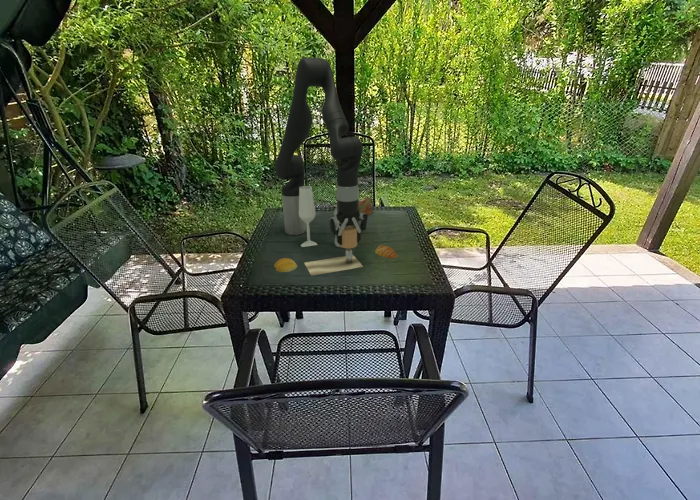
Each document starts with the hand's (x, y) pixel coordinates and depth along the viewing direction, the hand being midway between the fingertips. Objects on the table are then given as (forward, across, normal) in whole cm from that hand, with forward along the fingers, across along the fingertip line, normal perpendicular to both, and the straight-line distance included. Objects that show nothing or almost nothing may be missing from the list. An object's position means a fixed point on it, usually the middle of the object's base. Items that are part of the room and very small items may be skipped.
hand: (348, 242), depth 152 cm
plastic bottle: (+9, -3, -16) cm, 19 cm away
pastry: (+10, -16, -3) cm, 19 cm away
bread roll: (+10, +22, -5) cm, 25 cm away
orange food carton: (+9, -24, -50) cm, 56 cm away
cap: (+1, 0, 0) cm, 1 cm away
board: (+9, +6, 0) cm, 11 cm away
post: (+8, 0, 0) cm, 8 cm away
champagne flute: (+9, +9, -24) cm, 28 cm away
